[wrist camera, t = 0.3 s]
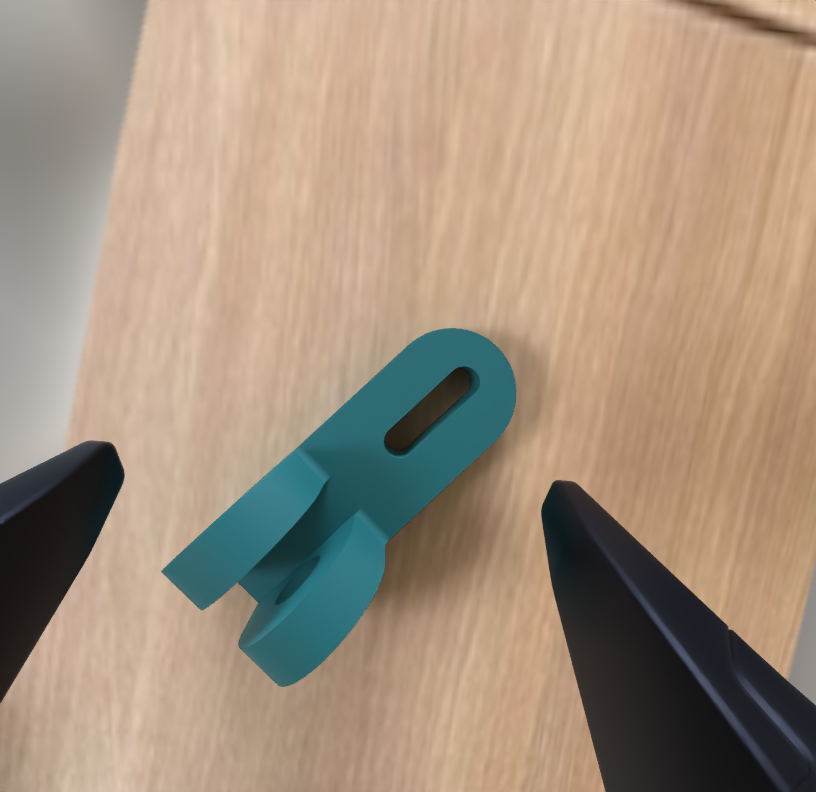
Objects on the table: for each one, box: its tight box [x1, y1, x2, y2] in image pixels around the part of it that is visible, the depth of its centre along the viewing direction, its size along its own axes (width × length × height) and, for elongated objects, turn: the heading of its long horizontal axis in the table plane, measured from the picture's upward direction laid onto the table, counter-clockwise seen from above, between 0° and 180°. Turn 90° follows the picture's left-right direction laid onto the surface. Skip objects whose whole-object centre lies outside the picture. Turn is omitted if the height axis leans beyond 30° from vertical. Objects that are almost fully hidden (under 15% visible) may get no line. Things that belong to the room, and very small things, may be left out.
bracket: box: [161, 328, 516, 687], centre depth 20 cm, size 18×7×8 cm, turn 133°
